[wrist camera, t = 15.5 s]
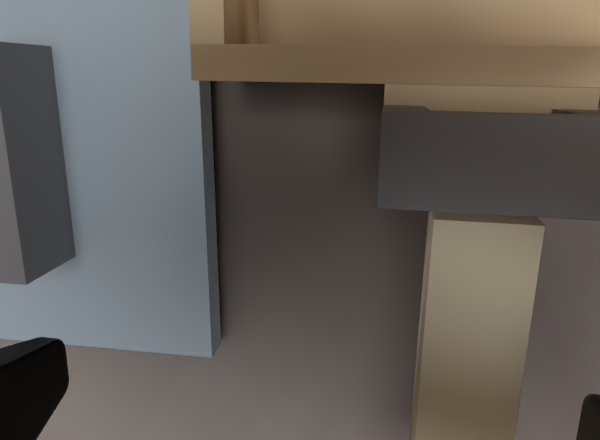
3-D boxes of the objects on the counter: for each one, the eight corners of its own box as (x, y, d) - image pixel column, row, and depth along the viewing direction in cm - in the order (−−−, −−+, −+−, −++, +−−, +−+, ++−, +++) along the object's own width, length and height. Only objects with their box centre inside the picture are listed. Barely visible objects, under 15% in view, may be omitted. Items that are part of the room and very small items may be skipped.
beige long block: (489, 564, 16) (509, 660, 13) (390, 548, 16) (390, 639, 14) (539, 209, 13) (578, 243, 10) (417, 202, 14) (423, 232, 11)
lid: (213, -68, 19) (151, -118, 14) (227, 332, 23) (184, 401, 18) (-98, -55, 21) (-249, -96, 16) (-32, 310, 25) (-135, 368, 20)
